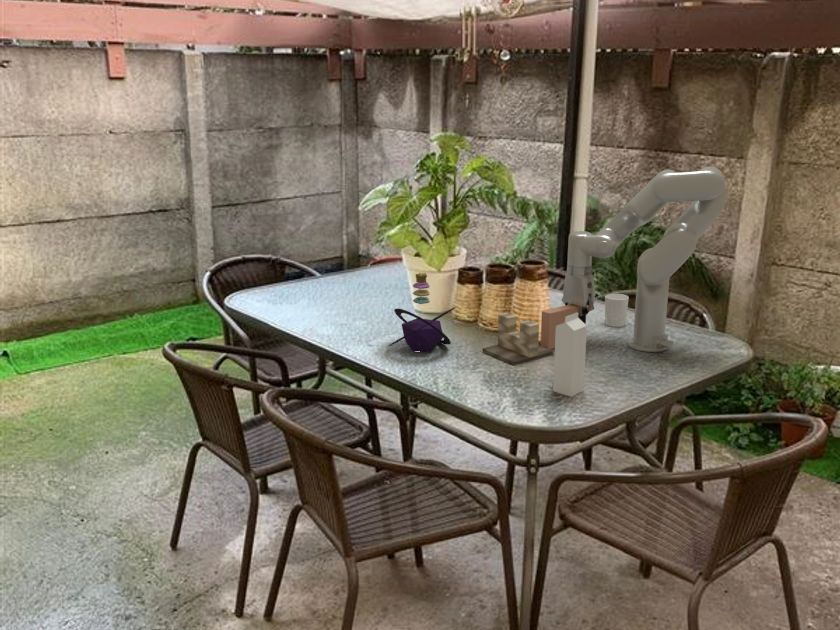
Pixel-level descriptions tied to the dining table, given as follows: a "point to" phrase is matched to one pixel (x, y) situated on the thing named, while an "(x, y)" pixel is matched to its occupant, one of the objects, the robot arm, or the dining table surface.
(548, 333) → the brown arch block
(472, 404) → the dining table surface
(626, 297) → the white cup
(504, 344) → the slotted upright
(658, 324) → the robot arm
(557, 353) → the milk
